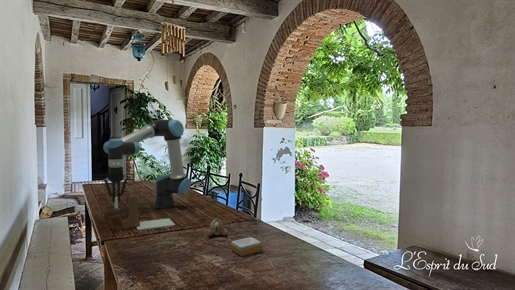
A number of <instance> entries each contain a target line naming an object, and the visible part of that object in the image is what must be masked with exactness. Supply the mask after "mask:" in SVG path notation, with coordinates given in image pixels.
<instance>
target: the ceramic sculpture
mask: <svg viewBox="0 0 515 290" xmlns="http://www.w3.org/2000/svg"><path fill="white" fill-rule="evenodd" d="M206 234H207V235H208V236H209V237H212V236H213V235H214V236H220V235H222V236H227V234H228V230H227V228H226V227H224V223H223V222H222V221H221V220H220V219H219V218H217V217H216V218H215V219H213V220H212V221H211V223H210V225H209V228H208V229H207V233H206Z"/></svg>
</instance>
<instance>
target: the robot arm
mask: <svg viewBox="0 0 515 290" xmlns="http://www.w3.org/2000/svg"><path fill="white" fill-rule="evenodd" d="M184 131H185V129H184V125H183V123H182V122H181V121H180V120H178V119H158V120H154V121H153V122H152V121H151V122H150V123H148V124H145V125H144V127H142V128H140V129H138V130H136V131H133V132H132V133H128V134H127V135H124V136H122V137H120V138H118V139H117V138H111V139H109V140H108V141H106V142H104V144H103V147H102V148H103V151H104V153H106V154H108V156H107V157H108V162H107V163H108V176H107V177H106V178H105V179H103V182H104V183H105V186H106V190H107V193H108V196H109V197H112V200H111V201H112V203H114V209H116V210H117V209H119V203H120V202H121V196H124V193H125V189H126V184H127V182H128V181H129V178H127V177H125V175H124V167H123V166H124V156H130V155H131V156H134V155H137V154H139V152H140V151H141V147H140V144H139V143H141V142H143V141H145V140H147V139H153V138H154V137H163V139H164V141H165V142H166V143H167V145H166V146H167V151H168V159H169V165H170V171H171V173H170V174H165V175H158V176H157V177H156V179H155V198H154V203H153V208H155V209H171V208H174V207H175V206H176V203H175V199H174V196H173V194H176V195H186V194H187V193H189V191H190V189H191V185H192V181H191V180H190V178H188V177H187V174H186V173H185V171H184V165H183V164H184V163H183V157H182V150H181V143H180V141H181V139H182V136H183V135H184ZM122 180H123V182H122ZM109 181H110V183H111V184H112V185H111V188H110V184H109ZM121 182H122V187H121ZM116 185H117V186H116ZM111 189H112V190H111ZM111 191H112V192H111Z"/></svg>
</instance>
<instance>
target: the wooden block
mask: <svg viewBox="0 0 515 290" xmlns="http://www.w3.org/2000/svg"><path fill="white" fill-rule="evenodd" d="M138 200H139V199H138V195H136V194H132V195H128V196H127V202H128V210H129V215H128V216H127V218H124V219H122V220H121V223H122V224H121V225H122V230H127V229H132V228H136V227H137V226H140V222H141V220H140V213H139V203H138Z"/></svg>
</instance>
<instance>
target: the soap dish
mask: <svg viewBox="0 0 515 290" xmlns="http://www.w3.org/2000/svg"><path fill="white" fill-rule="evenodd" d="M229 246H230V247H231V250H232V251H233V252H234V253H236V254H237V255H239V257H243V256H249V255H251V254H256V253H259V252H261V250H262V248H263V244H262V243H261V241H260V240H258V239H257V238H253V237H251V236H250V237H245V238H240V239H237V240H232V241H231V243H229Z"/></svg>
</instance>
